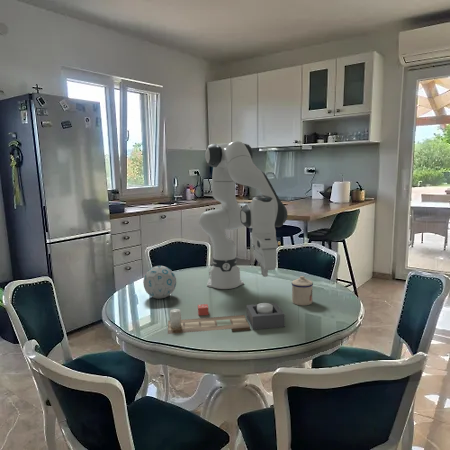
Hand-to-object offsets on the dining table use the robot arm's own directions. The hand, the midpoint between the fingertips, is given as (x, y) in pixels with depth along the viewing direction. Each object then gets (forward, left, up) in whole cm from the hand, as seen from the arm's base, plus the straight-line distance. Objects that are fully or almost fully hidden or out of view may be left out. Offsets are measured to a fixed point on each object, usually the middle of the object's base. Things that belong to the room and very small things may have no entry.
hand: (264, 275), depth 144 cm
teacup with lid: (-19, +21, -19) cm, 34 cm away
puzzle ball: (-37, -41, -19) cm, 58 cm away
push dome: (0, 0, -15) cm, 15 cm away
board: (0, -22, -18) cm, 29 cm away
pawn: (0, -34, -17) cm, 38 cm away
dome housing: (0, 0, -18) cm, 18 cm away
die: (-11, -23, -18) cm, 32 cm away
